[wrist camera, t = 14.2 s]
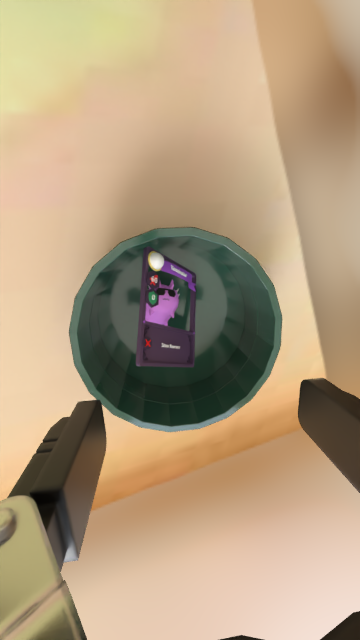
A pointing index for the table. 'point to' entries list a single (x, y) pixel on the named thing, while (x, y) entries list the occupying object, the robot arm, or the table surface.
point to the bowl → (210, 328)
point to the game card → (164, 315)
